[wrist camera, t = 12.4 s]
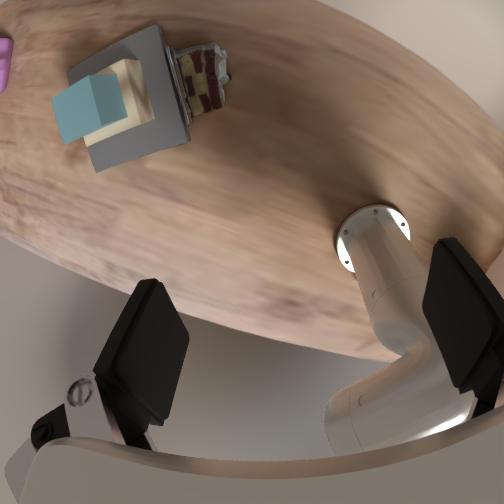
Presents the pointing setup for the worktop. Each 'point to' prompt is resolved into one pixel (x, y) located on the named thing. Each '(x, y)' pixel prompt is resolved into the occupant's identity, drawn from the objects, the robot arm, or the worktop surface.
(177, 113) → the stacking base
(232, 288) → the worktop surface
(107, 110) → the teal block
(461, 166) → the worktop surface
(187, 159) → the worktop surface
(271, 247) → the worktop surface
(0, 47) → the teakettle
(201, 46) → the chocolate cake
